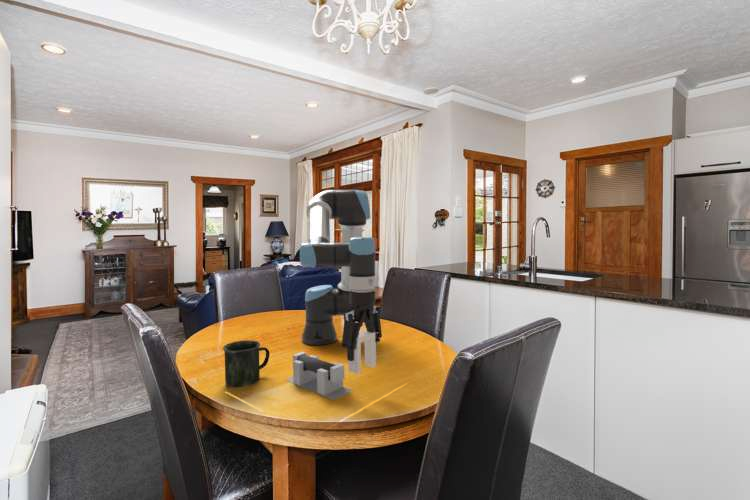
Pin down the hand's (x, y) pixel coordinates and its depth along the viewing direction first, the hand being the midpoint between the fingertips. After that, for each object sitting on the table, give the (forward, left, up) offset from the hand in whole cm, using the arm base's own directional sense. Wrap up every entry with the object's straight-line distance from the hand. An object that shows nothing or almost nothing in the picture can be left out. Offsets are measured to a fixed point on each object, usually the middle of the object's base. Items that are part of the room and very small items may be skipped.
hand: (362, 366), depth 114 cm
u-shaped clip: (0, 0, -1) cm, 1 cm away
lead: (-14, -5, -4) cm, 15 cm away
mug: (-35, -16, -9) cm, 40 cm away
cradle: (-14, -5, -8) cm, 17 cm away
